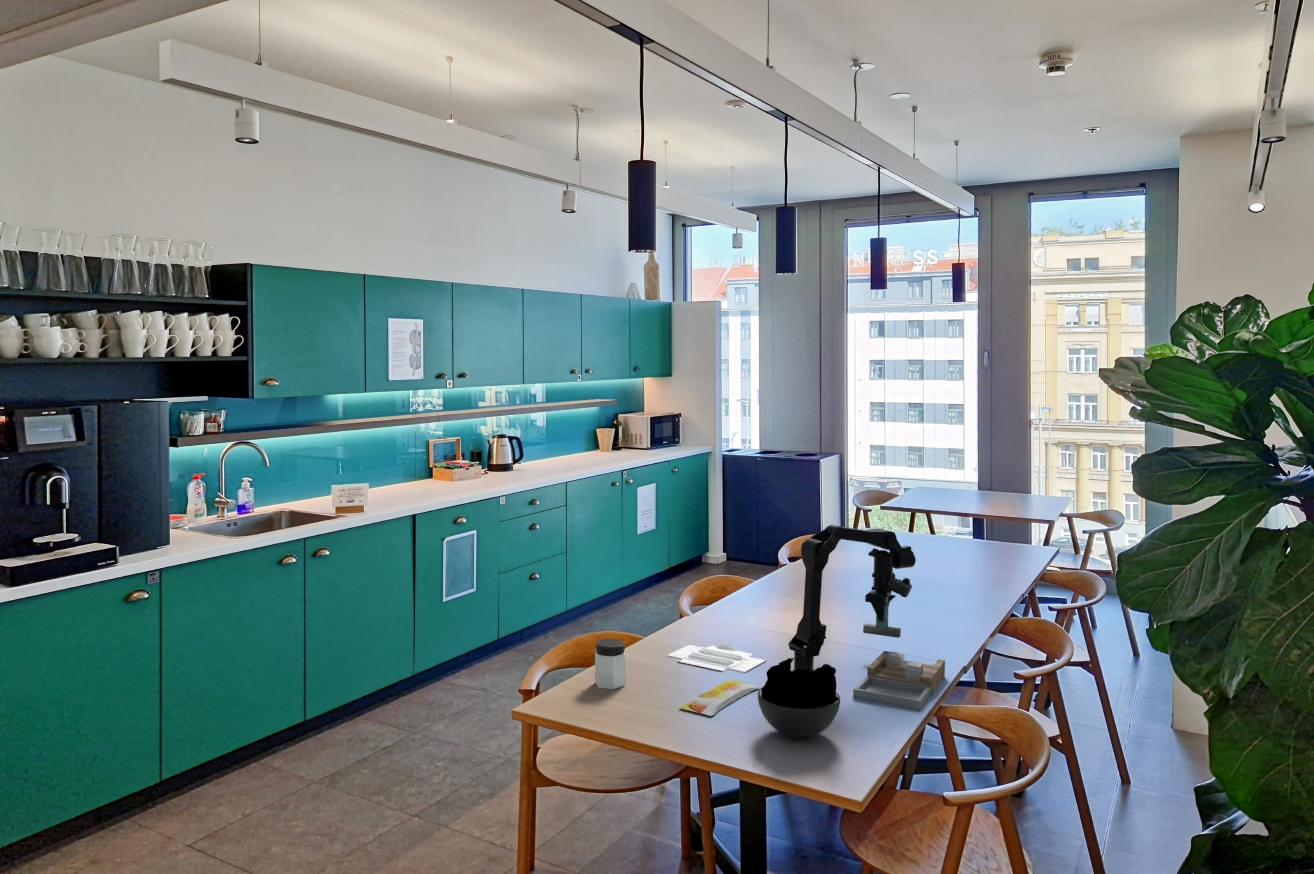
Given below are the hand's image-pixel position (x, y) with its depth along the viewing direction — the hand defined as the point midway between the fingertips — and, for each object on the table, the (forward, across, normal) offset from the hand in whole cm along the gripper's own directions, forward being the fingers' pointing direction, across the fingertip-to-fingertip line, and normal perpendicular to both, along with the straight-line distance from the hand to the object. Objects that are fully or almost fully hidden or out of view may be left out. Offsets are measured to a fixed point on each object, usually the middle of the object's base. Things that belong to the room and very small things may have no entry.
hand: (882, 619), depth 277 cm
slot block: (+13, -14, -11) cm, 22 cm away
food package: (+14, -55, +30) cm, 64 cm away
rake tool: (+5, 0, 0) cm, 5 cm away
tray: (+14, -23, +46) cm, 53 cm away
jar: (+13, -60, +62) cm, 87 cm away
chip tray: (+13, -30, -10) cm, 34 cm away
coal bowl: (+13, -68, +3) cm, 69 cm away
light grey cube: (+10, -19, -14) cm, 26 cm away
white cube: (+10, -13, -7) cm, 18 cm away
